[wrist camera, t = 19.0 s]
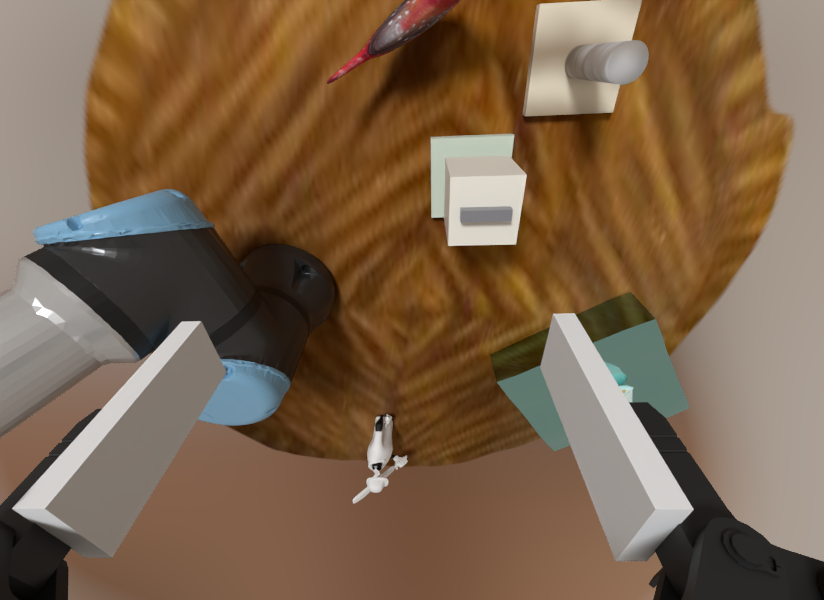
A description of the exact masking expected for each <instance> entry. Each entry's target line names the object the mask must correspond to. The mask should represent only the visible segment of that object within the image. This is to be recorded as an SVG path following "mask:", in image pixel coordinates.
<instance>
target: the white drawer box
mask: <svg viewBox="0 0 824 600" xmlns="http://www.w3.org/2000/svg"><path fill="white" fill-rule="evenodd" d="M526 176H527V175H526V174H525V173H524V171H523V170H522V169H521V168H520V167H519V166H518V165H517V164H516V163H515V162H514V161H513V160H512V158H511V157H510V156H476V157H445V190H444V222H445V228H446V235H447V242H448V246H466V245H514V244H516V241H517V235H518V228H519V222H520V215H521V209H522V202H523V196H524V189H525V183H526Z"/></svg>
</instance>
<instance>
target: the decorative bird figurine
mask: <svg viewBox="0 0 824 600" xmlns="http://www.w3.org/2000/svg"><path fill="white" fill-rule="evenodd" d="M459 1H460V0H405V1H404V2H403V3H402V4H401V5H400V6H399V7H398V8H397V9H396V10H395V11H394V12H393V13H392V14H391V15H390V16H389V17H388V18H387V19H386V20H385V21H384V23H383V24H382V25H381V26H380V27H379V28H378V29H377V30H376V31H375V33H374V34H373V35H372V37H371V38H370V40H369V41H368V43H367V44H366V46H365V47H364V48H363V49H362V50H361V51H360V52H359V53H358V54H357V55H356V56H355V57H354V58H352V59H351V60H350V61H349V62H348V63H347V64H345V65H344V66H343V67H342V68H341V69H340V70H339V71H337V72H336V73H335V74H334V75H333V76H332V77H331V78H330V79H329V80H328V81H327V83H328V84H329V83H331V82H333V81H335V80H337V79H338V78H340V77H342V76H343V75H345V74H346V73H348V72H349V71H351V70H353V69H354V68H355V67H357V66H359V65H360V64H362V63H364V62H365V61H367V60H369V59H372V58H375V57H379V56H382V55H384V54H387V53H389V52H391V51H393V50H394V49H396V48H398V47H400V46H402V45H404V44H406V43H408V42H410V41H411V40H413V39H414V38H416V37H418V36H419V35H420V34H422V33H423V32H425V31H426V30H427V29H429V28H430V27H431V26H433V25H434V24H435V23H436V22H438V21H439V20H440V19H441V18H442V17H444V16H445V15H446V14H447V13H448V12H449V11H450V10H451V9H452V8H453V7H454V6H455V5H456V4H457V3H458V2H459Z"/></svg>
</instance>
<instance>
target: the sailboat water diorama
mask: <svg viewBox="0 0 824 600" xmlns="http://www.w3.org/2000/svg"><path fill="white" fill-rule="evenodd" d="M576 317H577V318H578V320H579V321H580V323H581V325H582V326H583V328H584V330H585V331H586V333H587V335H588V336H589V338H590V340H591V341H592V343H593V344H594V346H595V348H596V349H597V351H598V353H599V354H600V356H601V358H602V359H603V361H604V363H605V364H606V366H607V368H608V369H609V371H610V372H611V374H612V376H613V377H614V379H615V381H616V382H617V384H618V386H619V387H620V389H621V391H622V392H623V394H624V395H625V397H626V399H627V400H628V402H648V403H649V404H650V405H651V406H652V407H654V408H655V409H656V410H657V411H658V412H659V413H661V414H662V415H663V416H664V417H665V418H666V417H670V416H672V415H675V414H677V413H679V412H681V411H683V410H686V409H688V408H689V405H688V402H687V399H686V397H685V394H684V392H683V390H682V388H681V385H680V383H679V381H678V378H677V376H676V373H675V370H674V368H673V365H672V363H671V360H670V358H669V355H668V353H667V350H666V347H665V344H664V340H663V337H662V334H661V332H660V329H659V327H658V324H657V321H656V319H655V318H654V317H653V316H652V315H651V313H650V312H649V311H648V310H647V309H646V308H645V307H644V306H643V305H642V304H641V303H640V301H639V300H638V299H637V298H636V297H635V296H634V295H633V294H632V293H631V292H630V293H628V294H625V295H623V296H620V297H617V298H615V299H612V300H610V301H607V302H605V303H603V304H600V305H598V306H596V307H593V308H591V309H589V310H586V311H584V312H582V313H579V314H577V315H576ZM549 329H550V327H549V328H547V329H545V330H543V331H541V332H539V333H536V334H534V335H532V336H530V337H528V338H525V339H523V340H521V341H519V342H517V343H515V344H513V345H511V346H508V347H506V348H503V349H501V350H499V351H497V352H495V353H493V354H490V356H491V361H492V365H493V369H494V373H495V377H496V381H497V383H498V384H499V386H500V387H501V388H502V390H503V391H504V392H505V394H506V395H507V396H508V398H509V399H510V400H511V401H512V402H513V403H514V404H515V405H516V407H517V408H518V409H519V410H520V411H521V413H522V414H523V415H524V416H525V417H526V419H527V420H528V421H529V423H530V424H531V425H532V427H533V428H534V429H535V430H536V432H537V433H538V434H539V436H540V437H541V438H542V439H543V440H544V441H545V442H546V444H547V445H548V446H550V447H551V448H552V449H553V450H554V451H556V450H559V449H562V448H564V447H567V446H569V445H570V443H569V440H568V438H567V435H566V433H565V430H564V427H563V425H562V422H561V420H560V417H559V415H558V412H557V409H556V407H555V404H554V402H553V399H552V397H551V394H550V391H549V389H548V386H547V384H546V381H545V379H544V376H543V374H542V371H541V368H540V366H541V362H542V358H543V354H544V350H545V346H546V341H547V337H548V333H549ZM613 334H614V335H613ZM608 336H609V337H608ZM603 338H604V339H603ZM598 340H599V341H598ZM595 341H596V342H595Z"/></svg>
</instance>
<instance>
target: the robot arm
mask: <svg viewBox="0 0 824 600" xmlns="http://www.w3.org/2000/svg"><path fill="white" fill-rule="evenodd" d="M214 227H215V226H214V224H213V223H212V222H209V221H208V220H207V219H206V217H205V216H204V215H203V214H202V212H201V211H200V210H199V209H198V207H197V206H196V205H195V204H194V202H193V201H192V200H191V199H190V198H189V197H188V196H187V195H186V194H184V193H182V192H180V191H177V190H173V189H164V190H159V191H156V192H152V193H149V194H145V195H142V196H139V197H135V198H132V199H129V200H125V201H122V202H118V203H115V204H112V205H109V206H105V207H102V208H99V209H96V210H92V211H89V212H86V213H83V214H80V215H77V216H73V217H70V218H67V219H63V220H60V221H56V222H53V223H49V224H46V225H43V226H40V227H37V228H36V229H35V230H34V231H33V234H34V236H35V238H36V242H37V243H38V244H39V245H44V247H43V248H42V249H39V250H37V251H35V252H33V253H31V254H29V255H27V256H24V257H22V258H20V259H18V263H17V268H16V274H15V279H14V283H13V284H12V285H11V287H10V288H9V289H7V290H5V291H3V292H1V293H0V438H2V437H3V436H4V435H6V434H7V433H9V432H10V431H11V430H13V429H14V428H16V427H17V426H19V425H20V424H21V423H23V422H24V421H26V420H27V419H28V418H30V417H31V416H33V415H34V414H35V413H37V412H38V411H40V410H41V409H42V408H44V407H45V406H47V405H48V404H49V403H51V402H52V401H54V400H55V399H56V398H58V397H59V396H61V395H62V394H63V393H65V392H66V391H67V390H69V389H70V388H72V387H73V386H75V385H76V384H77V383H79V382H80V381H82V380H83V379H84V378H86V377H87V376H88V375H90V374H91V373H93V372H94V371H96V370H97V369H98V368H100V367H101V366H103V365H106V364H110V363H136V362H138V361H140V360H141V359H143V358H144V357H145V356H147V355H148V354H149V353H151V352H152V351H153V350H154V353H153V354H152V355H151V356H150V357H149V358H148V359H147V360H146V361H145V363H144V364H143V365H142V366H141V367H140V368H139V369H138V370H137V371H136V372H135V374H134V375H133V376H132V377H131V378H130V379H129V380H128V381H127V383H125V385H124V386H123V387H122V388H121V389H120V390H119V391H118V392H117V393H116V394H115V396H114V397H113V398H112V399H111V400H110V401H109V402H108V403H107V404H106V405H105V407H104V408H103V409H97V410H95V411H94V412H92V413H91V414H90V415H88V416H87V417H85V418H84V419H83V420H81V421H80V422H79V423H77V424H76V425H75V426H74V428H73V429H72V430H71V431H70V432H69V433H68V434H67V435H66V436H65V437H64V438H63V439H62V443H59V444H58V445H57V446H56V447H55V448H54V449H53V450H52V451H51V452H50V453H49V456H48V457H45V459H43V461H42V462H41V463H40V464H39V465H38V466H37V467H36V468H35V469H34V470H33V471H32V472H31V473H30V474H29V475H28V477H27V478H26V479H25V480H24V481H23V482H22V483H21V484H20V485H19V486H18V487H17V488H16V489H15V491H13V493H12V494H11V495H10V496H9V497H8V498H7V499H6V500H5V501H4V502H3V503H2V504H1V505H0V600H68V566H67V562H66V561H64V560H63V559H64V558H65V556H66V555H67V553H68V552H69V551H70V549H73V550H74V551H76V552H77V553H79V554H80V555H82V556H83V557H94V558H95V557H97V558H98V557H99V558H107V557H108V558H112V557H113V556H114V554H115V552H116V551H117V549H118V547H119V545H120V544H121V542H122V541H123V539H124V538H125V536H126V534H127V533H128V531H129V530H130V528H131V526H132V525H133V523H134V521H135V520H136V518H137V517H138V515H139V513H140V512H141V510H142V509H143V507H144V505H145V503H146V502H147V500H148V499H149V497H150V496H151V494H152V492H153V491H154V489H155V487H156V486H157V484H158V483H159V481H160V479H161V478H162V476H163V474H164V473H165V471H166V470H167V468H168V466H169V465H170V463H171V462H172V460H173V458H174V457H175V455H176V453H177V452H178V450H179V449H180V447H181V445H182V444H183V442H184V440H185V439H186V437H187V436H188V434H189V432H190V431H191V429H192V427H193V426H194V424H195V423H196V421H197V419H198V420H201V421H205V422H209V423H215V424H220V425H247V424H252V423H256V422H259V421H262V420H264V419H266V418H268V417H269V416H271V415H272V414H273V413H274V412H275V411H276V410H277V408H278V407H279V405H280V403H281V401H282V399H283V397H284V395H285V393H286V392H287V391H288V389H289V388H290V384H291V381H292V378H293V376H294V373H295V370H296V368H297V365H298V362H299V360H300V357H301V354H302V352H303V349H304V346H305V344H306V341H307V338H308V336H309V334H310V333H311V332H312V331H313V330H314V329H315V328H316V327H317V326H319V325H320V324H321V323H322V322H323V321H324V320H325V319H326V318H327V316H328V315H329V313H330V311H331V309H332V306H333V303H334V300H335V286H334V282H333V279H332V277H331V275H330V273H329V272H328V270H327V269H326V268H325V266H324V265H323V264H322V263H321V262H320V261H319V260H318V259H316V258H315V257H314V256H312V255H311V254H309V253H307V252H306V251H304V250H301V249H299V248H296V247H293V246H289V245H283V244H271V245H265V246H262V247H259V248H257V249H255V250H253V251H251V252H250V253H249V254H248V255H247V256H246V257H245V258H244V259H243V260H242V262H241V263H240V264H239V263H238V262H237V260H236V259H235V257H234V256H233V254H232V253H231V252H230V250H229V249H228V247H227V246H226V244H225V243H224V242H223V240H222V239H221V237H220V236H219V234H218V233H217V232H216V230H215V229H214ZM540 368H541V371H542V374H543V376H544V379H545V381H546V384H547V386H548V389H549V391H550V394H551V397H552V399H553V402H554V404H555V407H556V409H557V412H558V415H559V417H560V420H561V422H562V425H563V427H564V430H565V433H566V435H567V438H568V440H569V443H570V445H571V448H572V451H573V453H574V456H575V458H576V461H577V463H578V466H579V468H580V471H581V473H582V476H583V479H584V481H585V484H586V486H587V489H588V491H589V494H590V497H591V499H592V502H593V504H594V507H595V509H596V512H597V515H598V517H599V520H600V522H601V525H602V528H603V530H604V533H605V535H606V538H607V540H608V543H609V545H610V548H611V551H612V553H613V556H614V558H615V561H647V560H648V559H649V558H650V557H651V556H652V555H653V554H654V553H655V552H656V554H657V556H658V558H659V560H660V562H661V564H662V566H663V568H662V569H661V570H660V571H659V572H658V573H657V574H656V575H655V576H654V577H653V578H652V580H651V581H650V583H649V585H651V586H652V587H655V586H656V585H657V587H656V591H655V595H654V599H653V600H824V562H823V561H820V560H816V559H814V558H810V557H807V556H804V555H801V554H798V553H795V552H791V551H788V550H785V549H782V548H780V547H777V546H774V545H772V544H770V542H769V541H768V540H767V539H766V538H765V537H764V536H763V535H761V534H760V533H758V532H757V531H755V530H754V529H753V528H751V527H750V526H748V525H746V524H744V523H741V522H739V521H738V520H737V519H735V517H734V516H733V515H732V514H731V512H730V511H729V510H728V509H727V507H726V506H725V504H724V503H723V501H722V500H721V498H720V497H719V496H718V494H717V493H716V491H715V490H714V488H713V487H712V485H711V484H710V482H709V481H708V479H707V478H706V477H705V475H704V474H703V472H702V471H701V469H700V468H699V466H698V465H697V464H696V462H695V460H694V459H693V458H692V456H691V455H690V453H688V452H687V449H686V447H685V446H684V445H683V443H682V442H681V440H680V439H679V438H677V434H676V433H675V431H674V430H673V428H672V427H671V425H670V424H669V422H668V421H667V419H666V418H665V417H664V416H663V415H662V414H661V413H659V412H658V411H657V410H656V409H655V408H654V407H652V406H651V405H650V404H649V403H648V402H628V400H627V399H626V397H625V395H624V394H623V392H622V391H621V389H620V387H619V386H618V384H617V382H616V381H615V379H614V377H613V376H612V374H611V372H610V371H609V369H608V368H607V366H606V364H605V363H604V361H603V359H602V358H601V356H600V354H599V353H598V351H597V349H596V348H595V346H594V344H593V343H592V341H591V340H590V338H589V336H588V335H587V333H586V331H585V330H584V328H583V326H582V325H581V323H580V321H579V320H578V318H577V317H576V315H575V313H572V314H553V317H552V321H551V325H550V329H549V333H548V337H547V341H546V346H545V350H544V354H543V358H542V362H541V366H540Z"/></svg>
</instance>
